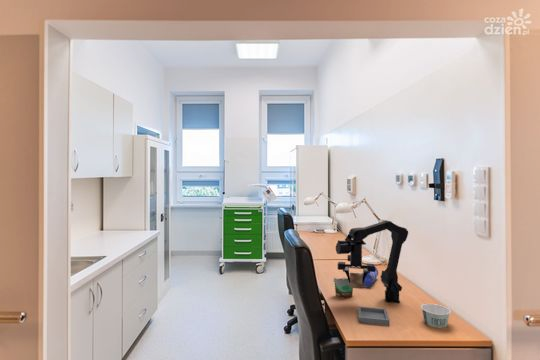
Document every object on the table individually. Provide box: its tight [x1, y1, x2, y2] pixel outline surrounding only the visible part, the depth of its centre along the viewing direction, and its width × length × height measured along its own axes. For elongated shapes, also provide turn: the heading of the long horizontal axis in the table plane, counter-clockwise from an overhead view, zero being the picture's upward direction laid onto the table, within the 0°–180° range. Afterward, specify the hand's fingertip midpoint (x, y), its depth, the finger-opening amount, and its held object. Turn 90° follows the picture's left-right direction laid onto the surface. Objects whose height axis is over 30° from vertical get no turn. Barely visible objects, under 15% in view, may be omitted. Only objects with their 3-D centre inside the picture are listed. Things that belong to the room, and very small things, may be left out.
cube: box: [349, 272, 363, 290], centre depth 168 cm, size 6×6×6 cm
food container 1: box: [333, 277, 354, 299], centre depth 178 cm, size 12×6×10 cm, turn 105°
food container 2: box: [420, 303, 452, 329], centre depth 145 cm, size 12×12×6 cm
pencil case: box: [362, 266, 379, 288], centre depth 202 cm, size 22×9×10 cm, turn 153°
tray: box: [357, 305, 390, 326], centre depth 151 cm, size 13×13×2 cm
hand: (356, 283), depth 168 cm, fingers closed on cube, 6 cm apart
